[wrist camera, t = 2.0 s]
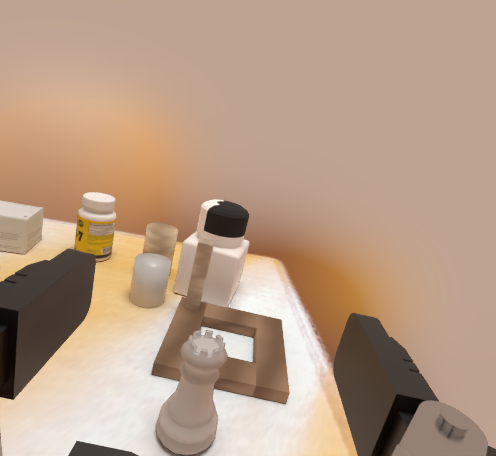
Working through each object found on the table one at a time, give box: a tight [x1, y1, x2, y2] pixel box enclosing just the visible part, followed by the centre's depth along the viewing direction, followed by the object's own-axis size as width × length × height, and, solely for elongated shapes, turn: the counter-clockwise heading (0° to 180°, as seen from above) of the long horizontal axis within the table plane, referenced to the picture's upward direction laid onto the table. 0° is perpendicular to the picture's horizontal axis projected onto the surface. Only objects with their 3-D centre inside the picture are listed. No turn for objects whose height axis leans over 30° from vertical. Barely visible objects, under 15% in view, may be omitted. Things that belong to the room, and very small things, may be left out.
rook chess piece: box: [156, 330, 228, 455], centre depth 26 cm, size 4×4×8 cm
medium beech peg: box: [143, 223, 178, 276], centre depth 49 cm, size 4×4×6 cm
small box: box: [0, 201, 43, 254], centre depth 47 cm, size 6×6×5 cm
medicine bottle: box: [174, 200, 249, 307], centre depth 47 cm, size 7×7×12 cm
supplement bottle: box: [74, 192, 116, 261], centre depth 49 cm, size 5×5×8 cm
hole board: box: [152, 238, 289, 404], centre depth 36 cm, size 12×12×9 cm
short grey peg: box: [129, 253, 171, 308], centre depth 42 cm, size 4×4×5 cm
